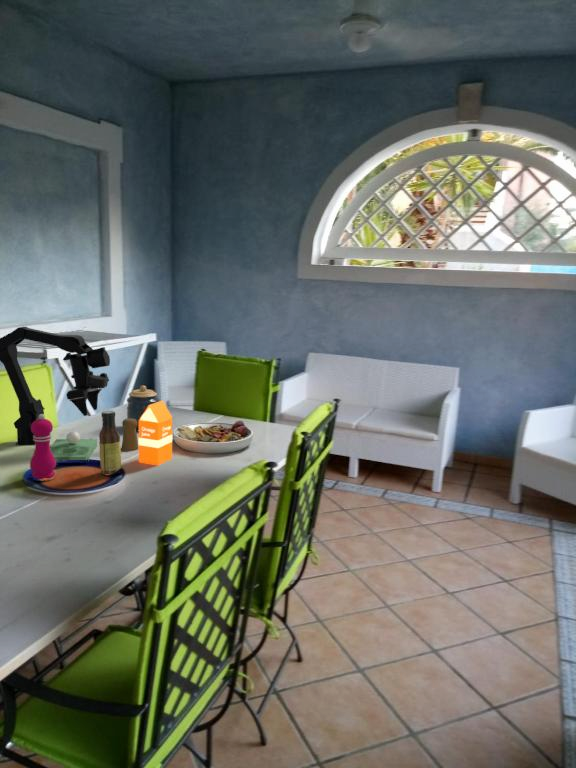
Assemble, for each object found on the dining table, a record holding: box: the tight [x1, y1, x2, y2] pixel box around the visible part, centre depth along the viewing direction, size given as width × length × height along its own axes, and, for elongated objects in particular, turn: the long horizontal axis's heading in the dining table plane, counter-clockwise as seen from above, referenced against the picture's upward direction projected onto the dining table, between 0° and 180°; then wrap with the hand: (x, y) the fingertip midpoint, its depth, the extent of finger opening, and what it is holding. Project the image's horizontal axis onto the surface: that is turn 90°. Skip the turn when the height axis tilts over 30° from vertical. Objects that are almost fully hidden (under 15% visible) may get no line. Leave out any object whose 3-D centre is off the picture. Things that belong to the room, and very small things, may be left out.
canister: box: [126, 385, 160, 430], centre depth 234 cm, size 13×13×18 cm
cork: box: [120, 418, 139, 452], centre depth 206 cm, size 6×6×11 cm
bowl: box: [172, 420, 254, 454], centre depth 217 cm, size 30×30×8 cm
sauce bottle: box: [98, 410, 122, 475], centre depth 178 cm, size 6×6×20 cm
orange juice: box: [138, 400, 173, 466], centre depth 193 cm, size 8×9×20 cm
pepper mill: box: [29, 414, 57, 479], centre depth 171 cm, size 7×7×20 cm
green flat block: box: [50, 438, 98, 461], centre depth 196 cm, size 21×14×2 cm, turn 9°
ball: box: [65, 430, 81, 444], centre depth 200 cm, size 4×4×4 cm
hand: (90, 412), depth 206 cm, fingers open, 9 cm apart
